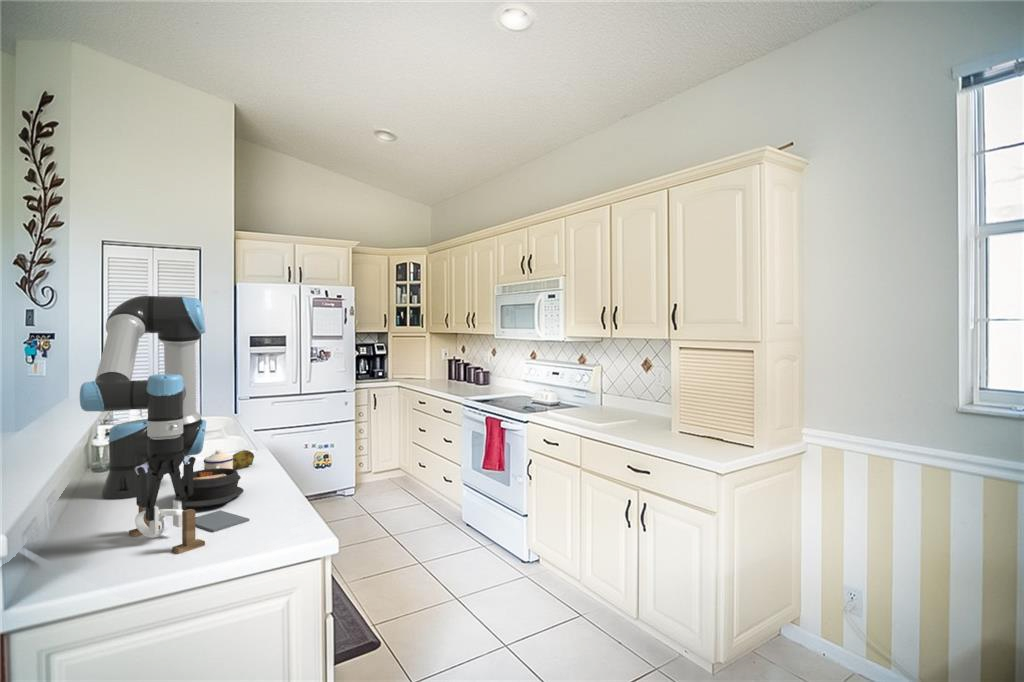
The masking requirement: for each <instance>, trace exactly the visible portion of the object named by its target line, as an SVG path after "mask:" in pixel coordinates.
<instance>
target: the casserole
mask: <svg viewBox="0 0 1024 682" xmlns="http://www.w3.org/2000/svg"><path fill="white" fill-rule="evenodd" d="M241 479H242V478H241V476H240V474H239V473H238V470H234V469H228V468H216V469H206V470H204V469H201V470H195V471H193V495H191V496H188V499H187V500H186V501H185V508H203V507H210V506H218V505H222V504H226V503H228V502H230V501H232V500H233V499H234V498H236V497H238V496H240V495H242V494H243V493H244V491H245V490H244V488H242V487H241V486H238V485H239V481H240V480H241ZM181 480H182V484H183V476H181ZM175 499H177V498H176V497H174V500H175Z"/></svg>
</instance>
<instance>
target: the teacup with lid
mask: <svg viewBox="0 0 1024 682" xmlns="http://www.w3.org/2000/svg"><path fill="white" fill-rule="evenodd" d="M233 459H234V458H233V454H227V453H225V452H223V450H222V449H217V450H215V452H214V453H212V454H211V455H210V456H207V457H205V458H204V459H203V463H204V464H203V466H204V467H203V470H206V469H216V468H228V469H233Z"/></svg>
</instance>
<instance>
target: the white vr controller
mask: <svg viewBox="0 0 1024 682" xmlns="http://www.w3.org/2000/svg"><path fill="white" fill-rule="evenodd" d="M182 511H183V510H182V509H173V508H159V522H160V524H161V528H160V530H159V533H158V534H153V533H150V528H149V527H148V526H147V525H146V524H145V522H144V514H145V513H146V511H142V512H140V513H139V512H138V513H137V514H136V516H135V517H134V518H135V519H134V523H135V527H136V528H137V529H138V530H139V531H140V532H141V533H142V535H144V536H145V537H147V538H158V537H160V536H161V535H162V534H163V533H164V531H165V529H166V525H167V523H166V519H165V517H173V516H180V515H182Z"/></svg>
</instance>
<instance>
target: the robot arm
mask: <svg viewBox="0 0 1024 682" xmlns="http://www.w3.org/2000/svg"><path fill="white" fill-rule="evenodd" d="M205 322H206V321H205V314H204V309H203V306H202V301H201V300H200V299H199V298H197V297H189V296H178V295H177V296H169V295H166V296H161V295H159V296H158V295H157V296H156V295H154V296H153V295H140V296H135V297H131V298H129V299H127V300H126V301H124V302H122V303H120V304H118V306H117V307H116V308H114V309H113V310H112V311H111V312H110V314H109V315H108V317H107V320H106V322H105V331H106V333H107V335H106V339H105V343H104V346H103V350H102V354H101V356H100V357H101V358H100V359H99V360H100V361H99V364H98V368H97V373H96V375H95V380H92V381H86V382H83V383H82V384H81V386H80V388H79V404H80V407H81V409H82V411H84V412H100V413H104V412H113V411H114V412H117V411H129V410H130V411H132V410H147V418H144V419H143V418H142V419H136V420H132V421H131V420H130V421H126V422H121V423H118V424H114V425H113V426H112V427H111V428H110V429H109V436H108V447H109V448H108V455H109V456H108V457H109V458H108V459H109V460H108V461H109V462H108V464H109V465H108V468H109V469H108V475H107V477H106V479H105V483H104V485H103V487H102V491H101V493H102V495H101V496H102V498H103V499H105V500H111V501H113V500H114V501H115V500H116V501H117V500H118V501H119V500H128V499H129V500H130V499H134V498H135V499H136V506H138V507H139V506H140V507H143V508H144V507H145V508H146V520H147V521H150V533H153V534H158V533H159V525H160V524H159V522H160V521H159V509H160V508H159V506H157V505H156V503H157V499H158V496H159V491H160V488H161V482H162V480H163V478H164V475H167V474H168V475H169V476H170V477H169V478H170V479H171V484H172V487H173V491H174V495H175V498H177V499H175V498H174V499H172V509H182V510H183V511H184V510H186V507H185V501H186V500H187V499H188V496H191V495H193V472H194V466H195V464H196V463H195V462H196V459H197V458H196V457H195V456H197V455H199V454H201V452H202V451H203V449H204V443H205V436H206V427H207V420H205V419H202V414H201V413H199V412H198V411H197V389H196V388H197V387H196V386H197V385H196V384H197V380H196V379H197V378H196V376H197V375H196V344H197V342H198V341H200V340H201V335H203V334H205V333H206V323H205ZM145 334H157V338H158V341H160V342H161V343H162V344H163V354H164V355H163V356H164V357H163V358H164V364H163V365H164V374H163V373H162V374H161V373H160V374H152V375H150V376H148V377H147V379H143V380H140V379H139V380H132V378H133V374H134V373H133V372H134V369H135V364H136V363H135V361H136V357H137V351H138V348H139V342H140V338H142V337H143V336H144V335H145ZM182 463H183V465H182ZM181 465H182V467H183V468H182V469H183V473H182V474H183V484H182V480H181V478H182V476H181V471H180V466H181ZM172 526H173V527H177V528H182V515H180V516H172Z"/></svg>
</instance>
